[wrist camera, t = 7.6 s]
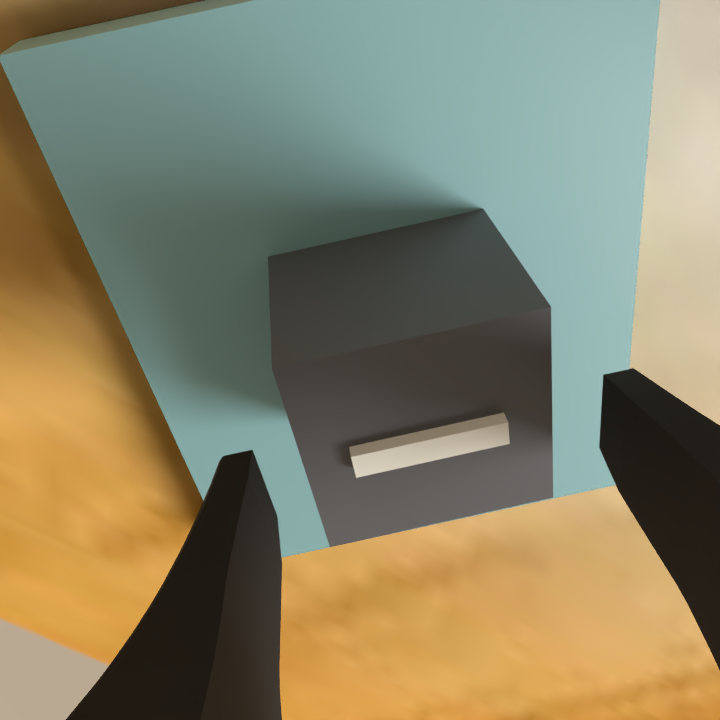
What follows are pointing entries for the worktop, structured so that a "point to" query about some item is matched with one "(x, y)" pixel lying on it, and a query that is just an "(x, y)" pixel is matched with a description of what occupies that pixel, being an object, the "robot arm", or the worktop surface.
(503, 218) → the base
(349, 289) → the grey drawer cube
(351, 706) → the worktop surface
